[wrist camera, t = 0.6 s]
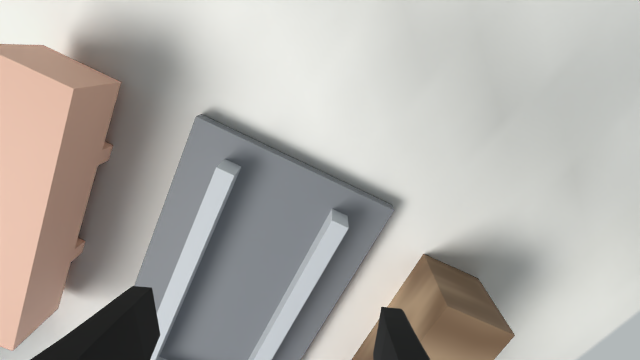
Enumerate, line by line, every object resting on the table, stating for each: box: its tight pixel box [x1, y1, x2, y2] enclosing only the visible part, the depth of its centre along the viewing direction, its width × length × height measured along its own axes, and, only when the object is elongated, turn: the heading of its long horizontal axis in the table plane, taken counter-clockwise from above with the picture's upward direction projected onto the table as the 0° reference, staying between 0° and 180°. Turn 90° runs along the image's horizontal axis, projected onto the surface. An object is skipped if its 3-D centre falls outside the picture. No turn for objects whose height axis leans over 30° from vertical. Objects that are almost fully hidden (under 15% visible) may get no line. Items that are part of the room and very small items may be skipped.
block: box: [0, 44, 121, 351], centre depth 19 cm, size 16×4×4 cm, turn 154°
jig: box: [134, 114, 394, 360], centre depth 22 cm, size 18×12×2 cm, turn 154°
